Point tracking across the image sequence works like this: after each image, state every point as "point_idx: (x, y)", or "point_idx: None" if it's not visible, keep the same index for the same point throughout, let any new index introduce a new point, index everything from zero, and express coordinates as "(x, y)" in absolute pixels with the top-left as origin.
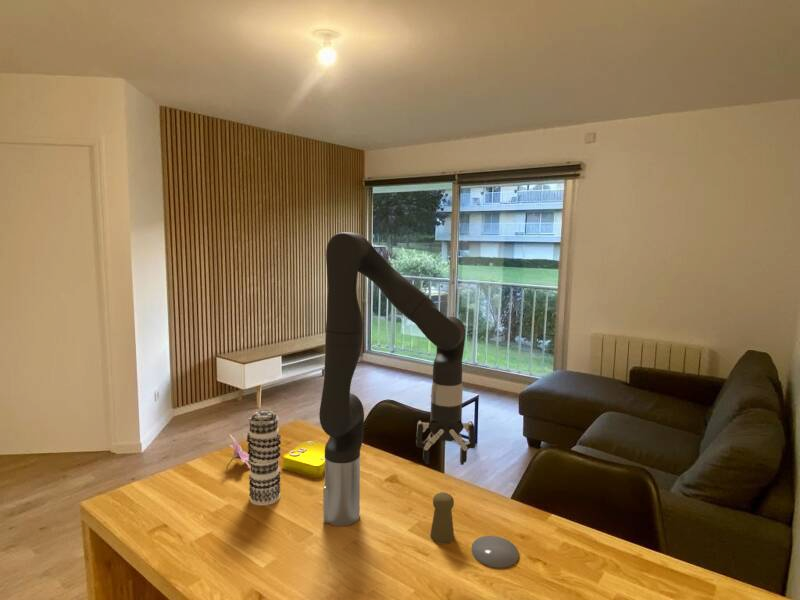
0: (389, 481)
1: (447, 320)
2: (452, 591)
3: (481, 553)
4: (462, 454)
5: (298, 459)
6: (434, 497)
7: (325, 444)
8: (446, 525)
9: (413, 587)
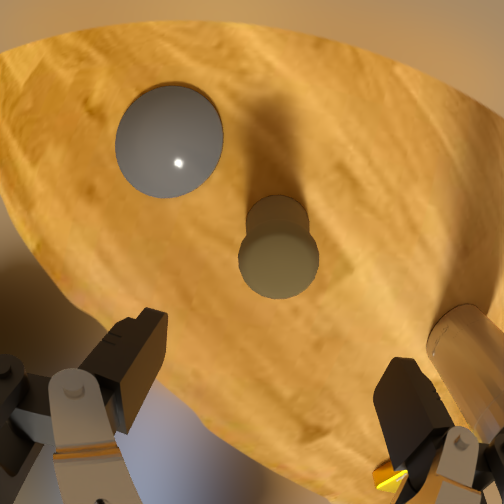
0: (322, 428)
1: None
2: (315, 40)
3: (202, 132)
4: (124, 356)
5: None
6: (314, 273)
7: (393, 491)
8: (276, 208)
9: (394, 75)
